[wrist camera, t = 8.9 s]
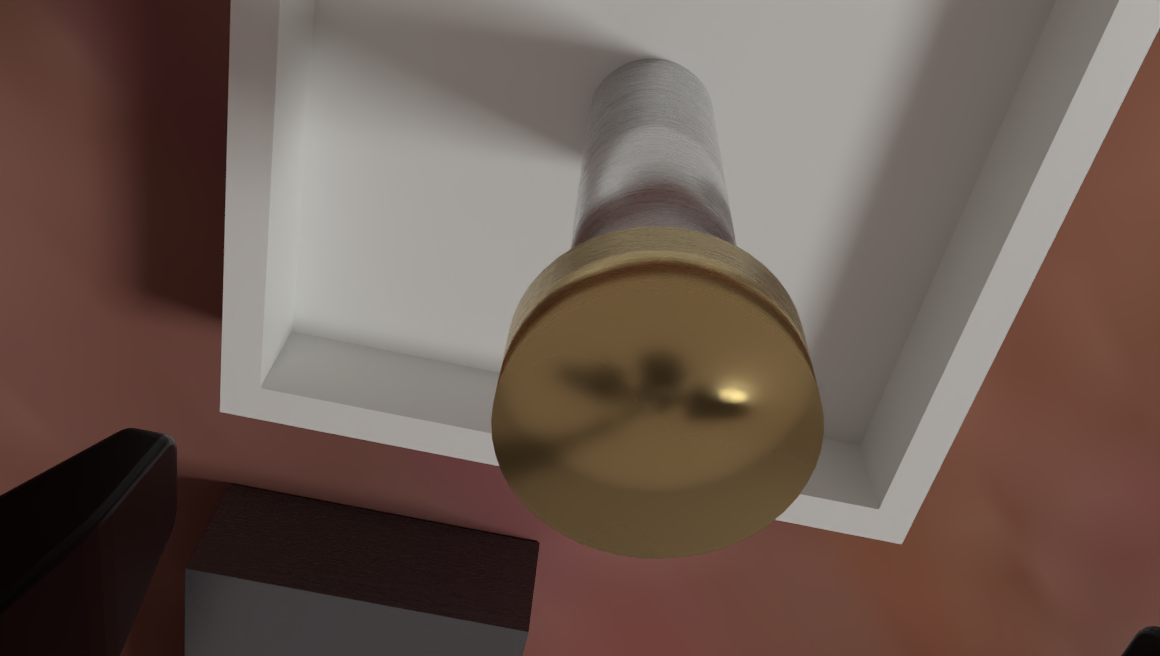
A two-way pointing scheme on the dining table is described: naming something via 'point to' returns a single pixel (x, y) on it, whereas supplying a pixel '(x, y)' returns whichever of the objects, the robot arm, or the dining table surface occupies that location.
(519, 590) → the block
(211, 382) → the dining table surface
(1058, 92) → the tray
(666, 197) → the pin
